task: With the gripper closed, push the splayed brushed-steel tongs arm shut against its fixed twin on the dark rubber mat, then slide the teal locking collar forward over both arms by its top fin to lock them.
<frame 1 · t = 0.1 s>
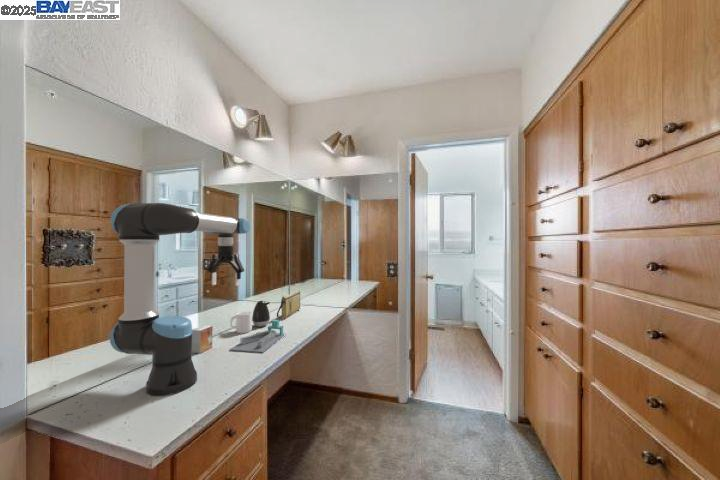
hand: (225, 285, 151), 28 cm above the countertop, fingers open, 13 cm apart
mug: (240, 331, 161), on the countertop
swing arm: (255, 337, 144), point 2 cm above the countertop, hinge at 30.0°
mat: (260, 342, 143), on the countertop
tongs base: (273, 337, 150), resting on mat
clutch purse: (288, 315, 198), on the countertop
small box: (201, 350, 133), on the countertop
lock collar: (275, 327, 153), point 4 cm above the countertop, slide at 0.0 cm
pump dispenser: (261, 326, 172), on the countertop
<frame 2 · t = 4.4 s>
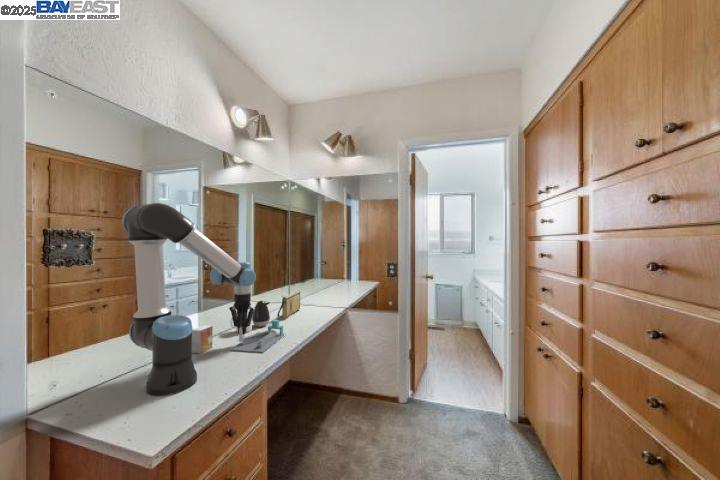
hand: (241, 340, 140), 2 cm above the countertop, fingers closed
swing arm: (255, 337, 144), point 2 cm above the countertop, hinge at 28.1°, touching gripper
everything else where it was.
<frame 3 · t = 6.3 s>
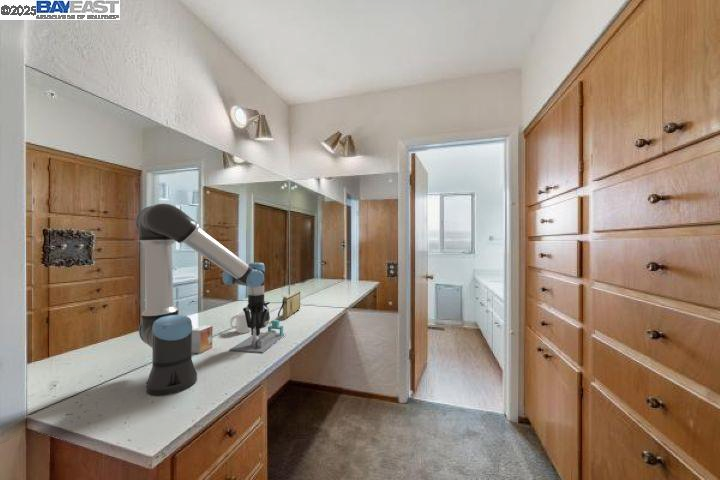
hand: (255, 342, 139), 2 cm above the countertop, fingers closed
swing arm: (261, 339, 141), point 2 cm above the countertop, hinge at 0.7°, touching gripper
everything else where it was.
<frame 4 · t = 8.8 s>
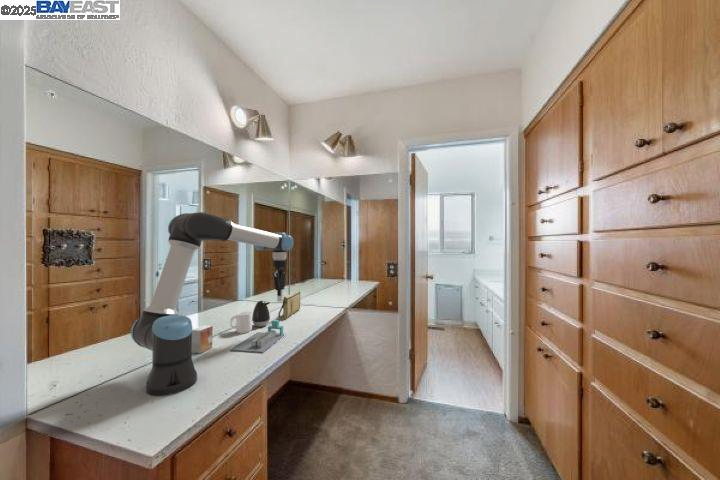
hand: (280, 301, 160), 17 cm above the countertop, fingers closed
swing arm: (261, 339, 141), point 2 cm above the countertop, hinge at 0.6°
everything else where it was.
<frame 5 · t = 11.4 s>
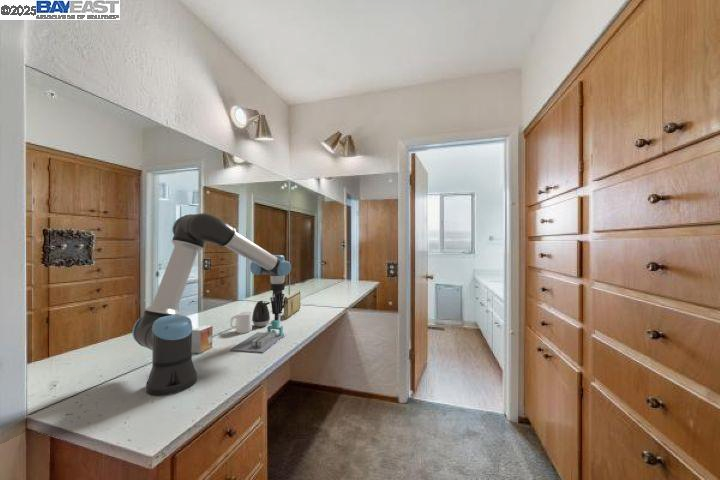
hand: (277, 325, 156), 5 cm above the countertop, fingers closed
lock collar: (275, 327, 153), point 4 cm above the countertop, slide at 0.5 cm, touching gripper
everything else where it was.
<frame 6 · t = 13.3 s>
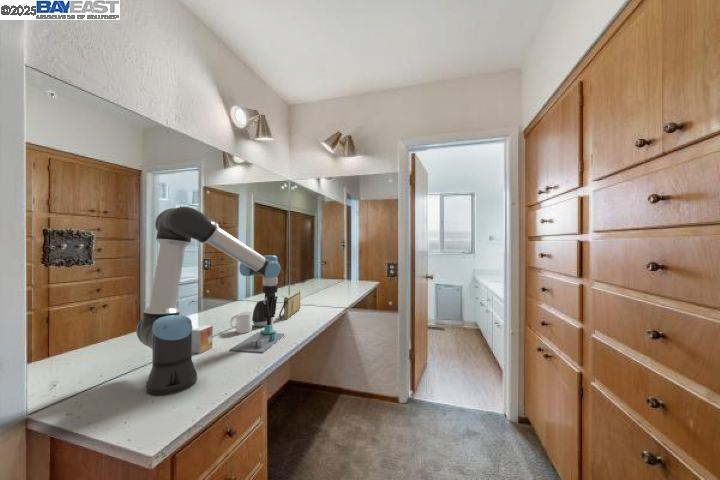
hand: (269, 330, 147), 5 cm above the countertop, fingers closed
lock collar: (268, 332, 145), point 4 cm above the countertop, slide at 8.3 cm
everything else where it was.
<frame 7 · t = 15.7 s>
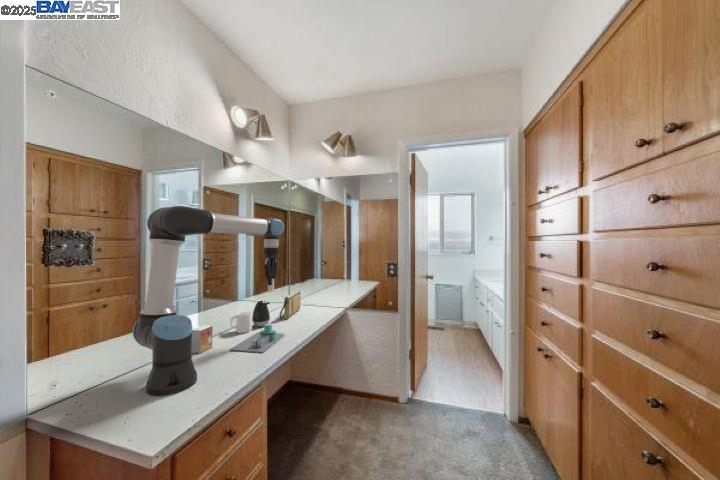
hand: (271, 290, 152), 25 cm above the countertop, fingers closed
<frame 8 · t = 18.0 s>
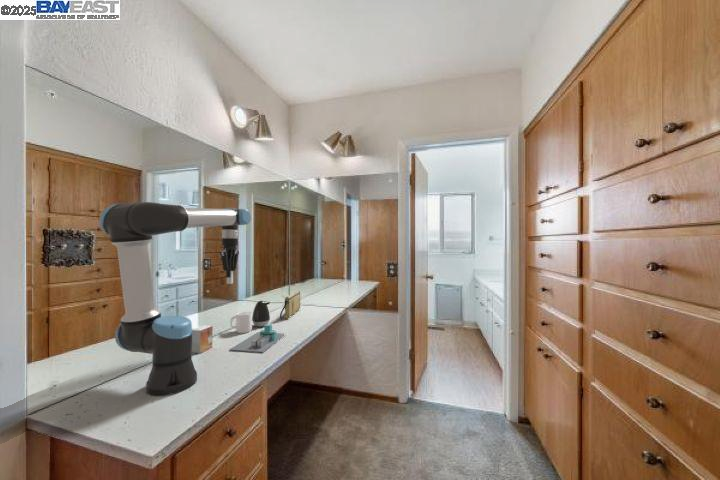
hand: (229, 283, 146), 29 cm above the countertop, fingers closed
at the end: swing arm at +1° (first picture: +30°); lock collar slide at 8.4 cm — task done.
